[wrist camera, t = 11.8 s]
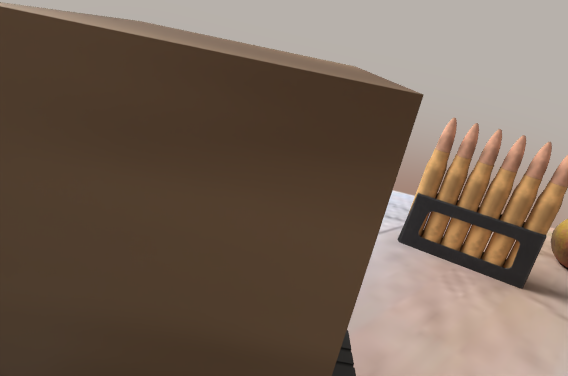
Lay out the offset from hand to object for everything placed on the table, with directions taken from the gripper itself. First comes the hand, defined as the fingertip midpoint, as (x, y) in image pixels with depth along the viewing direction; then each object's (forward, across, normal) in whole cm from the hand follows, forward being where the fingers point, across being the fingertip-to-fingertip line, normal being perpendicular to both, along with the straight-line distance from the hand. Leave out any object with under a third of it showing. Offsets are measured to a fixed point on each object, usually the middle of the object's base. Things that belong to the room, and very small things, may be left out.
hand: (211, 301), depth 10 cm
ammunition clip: (+22, -19, +9) cm, 30 cm away
